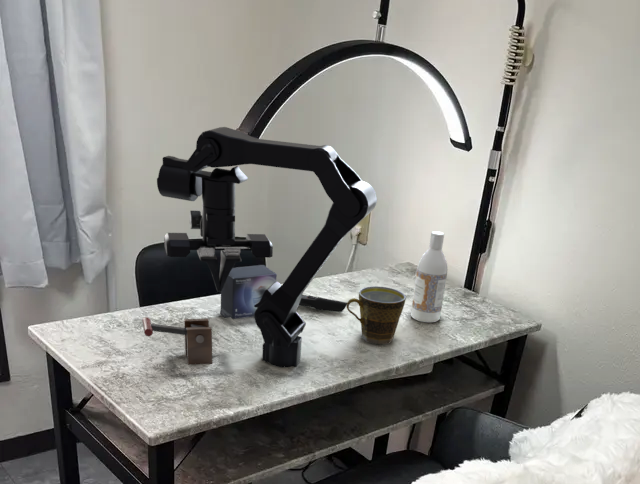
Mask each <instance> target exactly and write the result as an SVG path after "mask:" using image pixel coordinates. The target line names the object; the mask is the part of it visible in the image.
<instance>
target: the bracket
mask: <svg viewBox="0 0 640 484" xmlns="http://www.w3.org/2000/svg"><path fill="white" fill-rule="evenodd" d="M209 323H210V320H209V318H184V319H183V328H187V335H184V355H185V357H186V358H187V365H188V366H192V365H212V364H213V329H212V326H210V324H209ZM191 324H195V325H203V326H206V327H190V325H191Z"/></svg>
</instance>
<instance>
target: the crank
mask: <svg viewBox="0 0 640 484" xmlns="http://www.w3.org/2000/svg"><path fill="white" fill-rule="evenodd" d="M190 327H206V326H203V325H195V324H191V325H190ZM142 328H143V334H144V335H145V336H146V337H152V335H153V334H154V332H157V333H165V334H166V333H167V334H173V335H174V334H175V335H180V336H181V335H182V336H185V335H187V328H184V327H182V326H173V325H165V324H157V323H152V320H151V318H150V317H148V316H145V317H143V318H142Z"/></svg>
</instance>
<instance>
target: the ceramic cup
mask: <svg viewBox="0 0 640 484" xmlns="http://www.w3.org/2000/svg"><path fill="white" fill-rule="evenodd" d="M406 299H407V296H406V294H405V293H403V292H402V291H400V290H398V289H395V288H392V287H387V286H373V285H372V286H366V287H363V288H360V289H359V291H358V299H357V298H350V299H349V300H348V301H347V302H346V303H347V305H346V310H347V311H348V312H349V313H350V314H351V315H353V316H354V317H355V318H356V320H358V321H359V322H360V326H361V327H360V328H361V338H362V339H363V340H364V341H365V342H366V343H370V344H374V345H388V344H390V343H391V342H392V341H393V340H394V337H395V335H396V331H397V328H398V324H399V322H400V317H401V315H402V314H403V313H402V312H403V310H404V307H405V304H406ZM351 303H357V305H358V306H359V315H360V317H358V315H357V314H356V313H355V312H353V311H352V310H351V309H350V304H351Z"/></svg>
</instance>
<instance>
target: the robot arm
mask: <svg viewBox="0 0 640 484" xmlns="http://www.w3.org/2000/svg"><path fill="white" fill-rule="evenodd" d="M243 165H257V166H264V167H273V168H281V169H288V170H289V169H290V170H297V171H305V172H313V173H314V175H315V176H316V177H317V179H318V180H319V182H320V184H321V186H322V188H323V190H324V192H325V193H326V195H327V196H328V198H329V199H330V200H331V202H332V204H331V206H330V208H329V210H328V213H327V217H326V219H325V222H324V225H323V227H322V228H321V230H320V231H319V232H318V234H317V235H316V237H315V238H314V239H313V241H312V242H311V244H310V245H309V247H307V249H306V251H305V252H304V253H303V255H302V257H300V259H299V260H298V262H297V263H296V265H295V267H293V269H292V271H290V273H289V275H288V276H287V278H286V279H285V280H284V281H283V283H282V284H281V283H280V282H279V280H276V282H275V283H274V284H272V285H271V286H270V287H269V288H268V289H266V290H265V292H264V294H263V296H262V298H261V300H260V301H259V302H258V303H257V304H255V305H254V307H257V309H256V310H255V313H254V317H253V319H254V322H255V324H256V326H257V328H258V329H259V330H260V333H261V336H262V339H263V344H262V352H261V353H262V355H261V361H263V362H265V363H268V364H269V365H271V366H274V367H277V368H291V367H292V368H297V367H298V365H299V364H300V362H301V354H302V336H300V334H302V333H303V331H304V329H305V327H306V321H305V320H304V319H303V318H302V317H301V315H300V314H299V313H298V312H297V310H298V307H299V303H300V300H301V297H302V295H304V292H305V291H306V289H307V288H308V286H310V284H311V282H312V281H313V280H314V279H315V277H316V276H317V275H318V273H319V272H320V270H321V269H322V268H323V267H324V265H325V264H326V262H327V261H328V260H329V259H330V257H331V256H332V254H333V253H334V251H335V250H336V249H337V247H338V246H339V245H340V243H341V242H342V240H343V239H344V238H345V237H346V235H347V234H349V233H350V232H351V231H352V230H353V229H354V228H355V227H356V226H357V225H358V224H359V223H361V222H362V221H363V220H364V219H365V218H366V217H367V216H368V215H369V214H370V213H371V212H372V211H374V210H375V207H376V206H377V203H378V199H377V193H376V190H375V188H374V187H373V186H372V185H371V184H370V183H368V182H367V181H364V180H362V178H361V177H360V175H359V174H358V173H357V172H356V171H355V170H354V169H353V168H352V167H351V166H350V165H349V164H348V163H347V162H345V160H343V159H342V158H341V156H340V155H339V154H338V152H337V151H336V149H334V148H333V146H331V145H327V144H323V145H314V144H307V143H297V142H290V141H281V140H271V139H263V138H257V137H254V136H251V135H249V134H247V133H245V132H243V131H240V130H236V129H233V128H230V127H227V126H220V127H216V128H211V129H208V130H205V131H202V132H201V133H200V134H199V136H198V137H197V139H196V143H195V150H193V153H191V155H190V157H189V158H188V159H184V158H179V157H176V156H174V155H165V156H163V157H162V165H161V166H160V169H159V170H158V176H157V178H156V185H157V190H158V192H159V194H160V196H162V197H165V198H170V199H177V200H183V201H187V202H195V201H197V199H198V198H199V197H201V210H189V228H190V230H199V236H200V238H189V236H188V233H187V232H166V233H165V235H164V237H163V241H164V251H165V253H166V256H167V257H170V258H186V257H187V256H189V255H190V254H191V251H196V254H197V256H198V258H199V261H200V262H203V263H204V262H205V263H206V264H207V267H208V269H209V270H210V274H211V277H212V280H213V283H214V286H215V289H216V291H217V293H218V292H220V293H221V291H222V290H223V287H224V285H225V282H226V280H227V278H228V275H229V273H230V271H231V270H232V268H234V267H235V265H236V263H240V262H242V257H241V255H240V254H241V251H246V252H247V251H251V254H252V255H253V256H254V257H255V258H268V259H269V258H272V257H273V254H274V253H273V252H274V246H273V243H272V242H271V240H270V239H269V237H268V236H267V235H266V234H265V233H246V236H245V239H236V184H237V185H239V184H242V183H244V182H246V181H248V180H249V179H248V176H247V175H246V174H245V173H244V172H243V171H242V170H241V169H240V166H243ZM226 167H231V168H230V169H227V168H226ZM206 168H212V169H213V168H214V169H213V170H212V171H207V170H205V169H206ZM201 237H202V238H201ZM216 251H220V265H219V264H218V263H219V262H218V258H217V256H216Z"/></svg>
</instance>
